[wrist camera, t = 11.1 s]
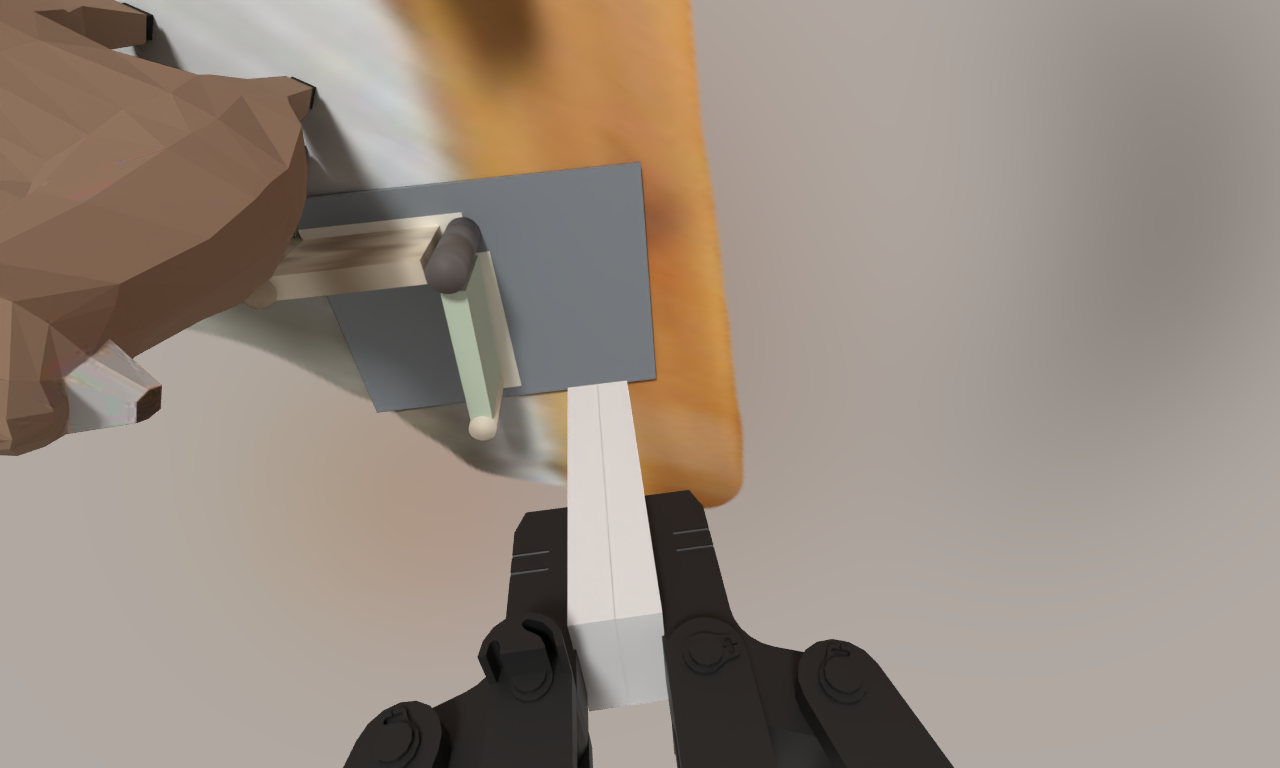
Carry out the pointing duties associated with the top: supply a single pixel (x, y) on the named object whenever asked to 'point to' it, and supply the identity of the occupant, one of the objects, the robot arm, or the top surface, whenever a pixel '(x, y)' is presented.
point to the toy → (125, 209)
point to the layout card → (506, 283)
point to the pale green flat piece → (475, 353)
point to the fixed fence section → (373, 263)
